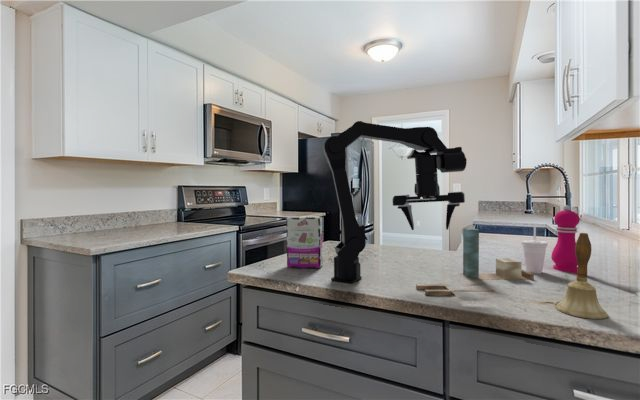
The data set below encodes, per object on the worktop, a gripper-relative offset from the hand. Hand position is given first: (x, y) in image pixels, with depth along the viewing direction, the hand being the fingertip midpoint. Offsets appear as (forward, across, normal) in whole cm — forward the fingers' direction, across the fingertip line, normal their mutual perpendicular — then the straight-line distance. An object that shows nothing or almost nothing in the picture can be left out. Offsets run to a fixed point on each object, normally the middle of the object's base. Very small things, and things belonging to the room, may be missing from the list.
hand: (429, 229), depth 94 cm
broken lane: (+14, -7, +11) cm, 19 cm away
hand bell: (+15, -30, +15) cm, 37 cm away
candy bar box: (+12, +40, +2) cm, 41 cm away
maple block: (+14, -19, -6) cm, 24 cm away
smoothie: (+16, -26, -15) cm, 34 cm away
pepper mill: (+16, -35, -22) cm, 44 cm away
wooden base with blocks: (+15, -16, -4) cm, 22 cm away
